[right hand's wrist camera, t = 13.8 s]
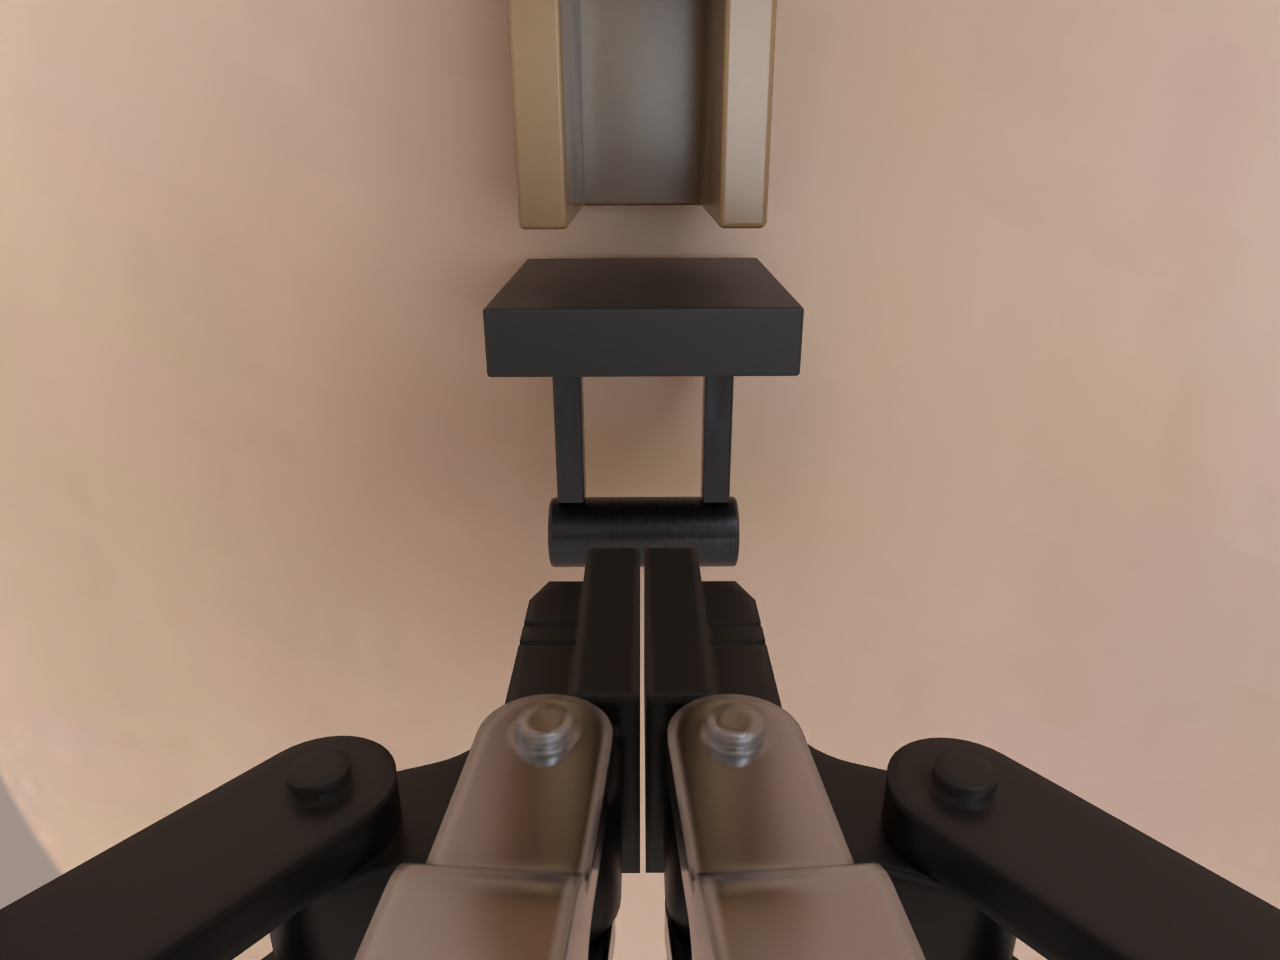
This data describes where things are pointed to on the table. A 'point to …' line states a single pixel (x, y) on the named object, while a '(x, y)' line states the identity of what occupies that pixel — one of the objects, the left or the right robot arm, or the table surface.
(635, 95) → the drawer
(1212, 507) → the table surface
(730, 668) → the right robot arm
